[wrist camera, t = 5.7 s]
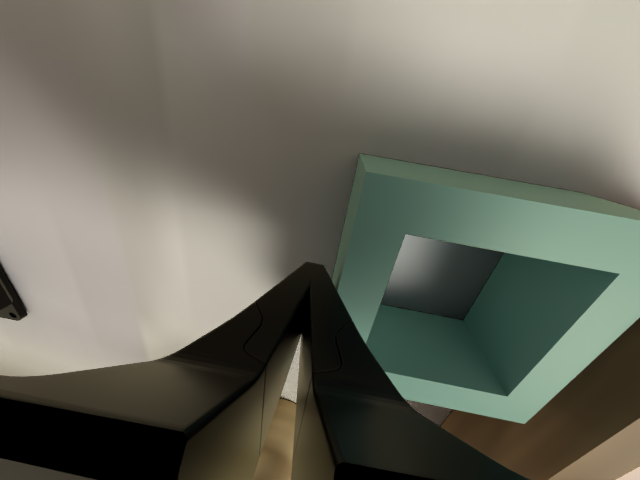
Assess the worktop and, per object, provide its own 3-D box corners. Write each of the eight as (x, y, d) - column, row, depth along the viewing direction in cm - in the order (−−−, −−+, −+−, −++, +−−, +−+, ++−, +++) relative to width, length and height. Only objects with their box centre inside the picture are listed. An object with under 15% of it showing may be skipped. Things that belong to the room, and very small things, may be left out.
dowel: (256, 421, 20) (218, 558, 14) (255, 395, 18) (210, 539, 12) (303, 428, 20) (285, 569, 14) (306, 402, 18) (288, 552, 12)
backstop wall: (436, 431, 18) (466, 533, 13) (607, 209, 9) (836, 285, 5) (463, 436, 18) (501, 541, 13) (658, 218, 9) (934, 304, 5)
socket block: (324, 313, 14) (315, 380, 10) (359, 153, 10) (366, 171, 6) (478, 344, 13) (524, 423, 10) (582, 192, 9) (727, 236, 6)
